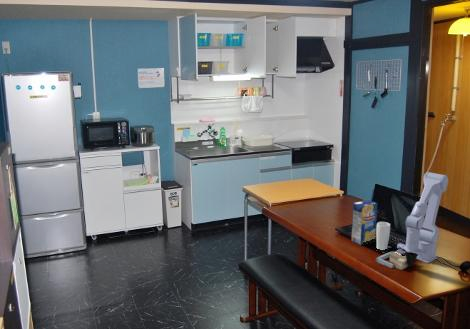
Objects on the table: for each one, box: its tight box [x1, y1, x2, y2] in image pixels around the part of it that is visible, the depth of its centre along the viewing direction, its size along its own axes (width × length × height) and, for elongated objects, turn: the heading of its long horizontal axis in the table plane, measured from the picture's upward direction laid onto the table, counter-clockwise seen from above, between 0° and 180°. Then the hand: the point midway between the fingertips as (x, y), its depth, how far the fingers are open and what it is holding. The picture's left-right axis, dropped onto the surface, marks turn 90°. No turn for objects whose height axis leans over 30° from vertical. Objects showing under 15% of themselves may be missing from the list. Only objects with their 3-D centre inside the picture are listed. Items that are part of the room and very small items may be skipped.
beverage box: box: [351, 199, 378, 246], centre depth 246 cm, size 7×11×22 cm, turn 120°
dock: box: [375, 250, 396, 269], centre depth 224 cm, size 14×9×2 cm, turn 127°
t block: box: [388, 252, 409, 271], centre depth 220 cm, size 10×9×4 cm
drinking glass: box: [375, 221, 391, 250], centre depth 234 cm, size 7×7×15 cm
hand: (410, 266), depth 216 cm, fingers closed
